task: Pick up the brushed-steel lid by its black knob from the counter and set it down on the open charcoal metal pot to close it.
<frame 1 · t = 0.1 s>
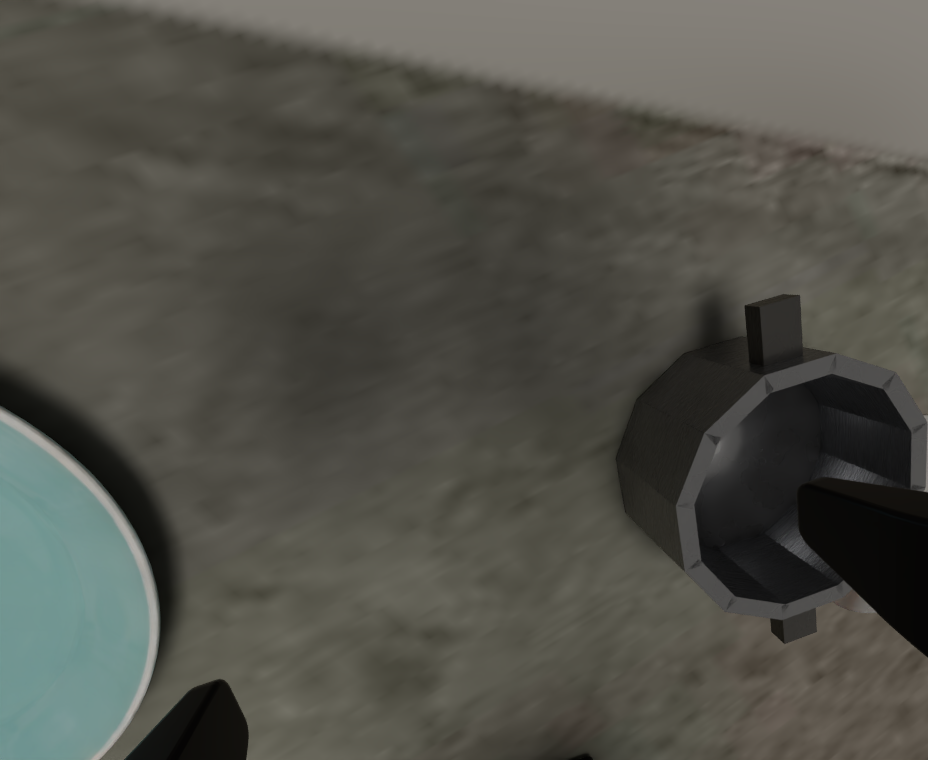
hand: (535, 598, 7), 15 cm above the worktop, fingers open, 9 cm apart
pot: (724, 452, 24), on the worktop
lid: (893, 514, 28), on the worktop
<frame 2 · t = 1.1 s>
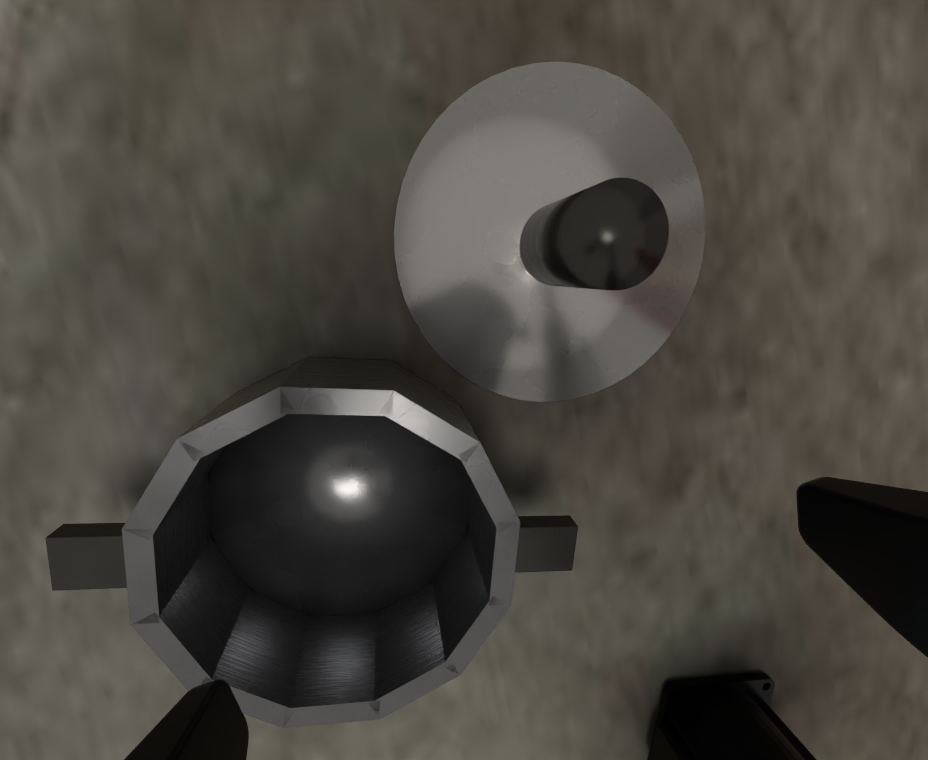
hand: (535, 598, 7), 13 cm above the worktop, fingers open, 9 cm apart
pot: (347, 497, 20), on the worktop
lid: (552, 246, 19), on the worktop
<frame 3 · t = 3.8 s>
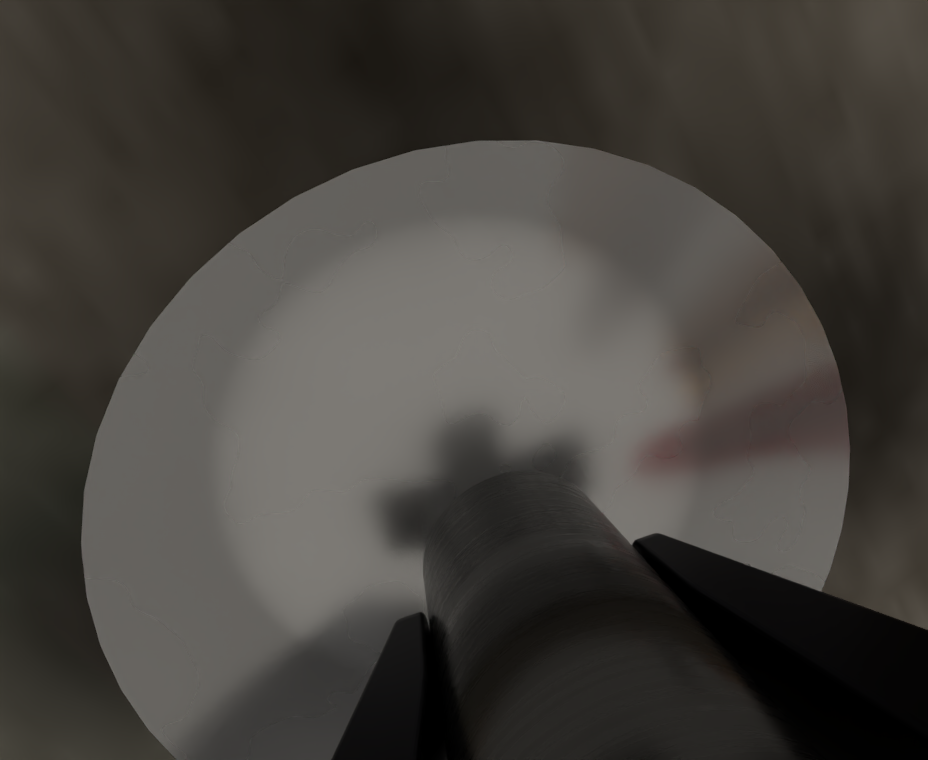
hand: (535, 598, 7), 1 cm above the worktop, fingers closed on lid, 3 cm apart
lid: (507, 538, 8), on the worktop, touching gripper
when the fingers open (7 cm above the worktop, at t = 7.1 s): lid stays where it is, resting on pot.
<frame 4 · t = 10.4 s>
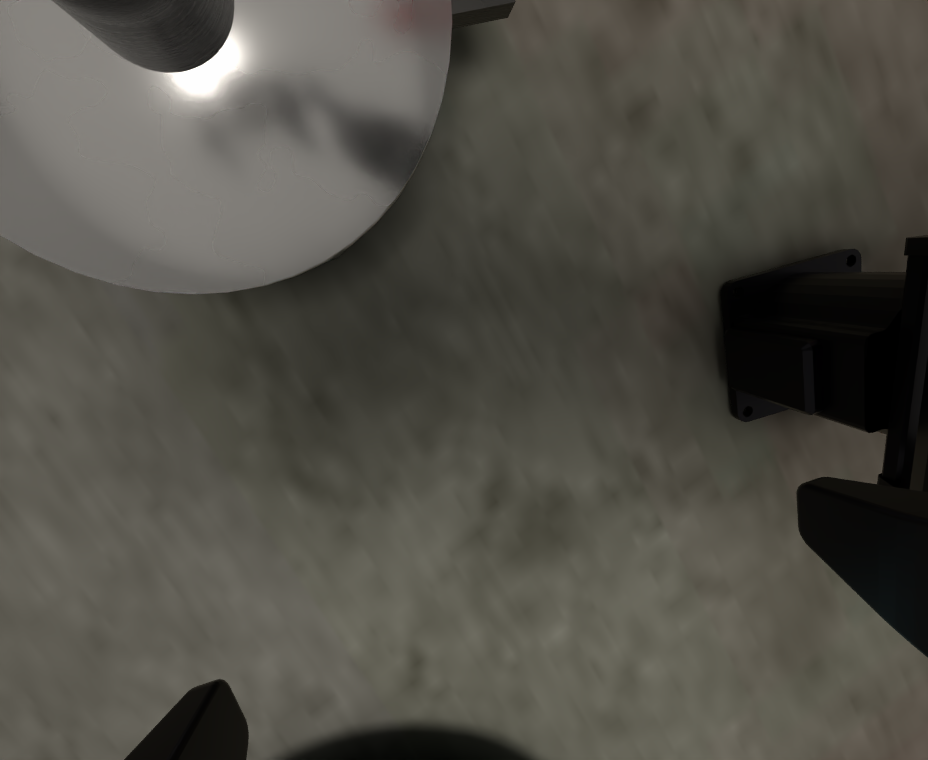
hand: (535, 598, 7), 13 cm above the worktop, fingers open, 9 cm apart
pot: (234, 89, 15), on the worktop
lid: (167, 4, 11), point 5 cm above the worktop, touching pot
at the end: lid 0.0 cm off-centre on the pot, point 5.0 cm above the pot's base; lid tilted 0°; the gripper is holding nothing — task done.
